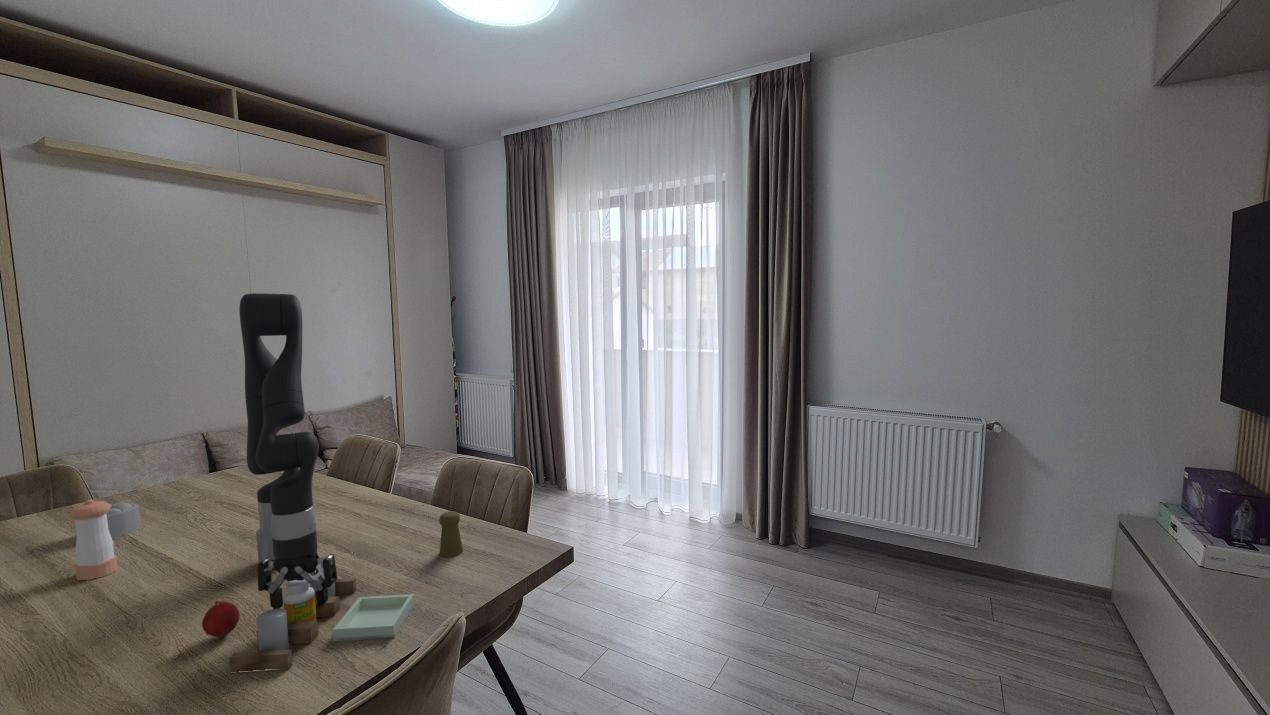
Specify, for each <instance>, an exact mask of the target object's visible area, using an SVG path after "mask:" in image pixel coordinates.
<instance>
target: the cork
mask: <svg viewBox="0 0 1270 715" xmlns="http://www.w3.org/2000/svg"><path fill="white" fill-rule="evenodd" d="M460 519H461V516H460V514H459V512H457V511H454V510H451V511H446V512H444V513H442V514H440V516H439V525H440V526H441V531H440V532H441V535H440V544H439V554H438V555H439V556H440V557H442V558H445V559H446V558H447V559H448V558H454V557H455V558H456V557H458V556H459V555H461V554H462V553H463V552H464V548H463V543H462V542H463V541H462V538H461V537H462V536H461V533H460V528H459V523H460V522H461V521H460ZM457 555H458V556H457Z"/></svg>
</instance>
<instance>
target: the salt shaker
mask: <svg viewBox="0 0 1270 715" xmlns="http://www.w3.org/2000/svg"><path fill="white" fill-rule="evenodd" d="M109 504H110V503H108V502H107V501H101V500H94V499H87V500H86V501H85V502H84V503H81V504H78V505H77V506H74V507H73V508H72V509H71V511H70V512H69V513H70V514H69V517H70V518H71V519H72V520H74V522H75V530H76V531H75V532H76V541H75V550H74V553H75V559H76V563H75V565H74V570H75V572H74V573H75V578H76V579H77V581H78V580H87V581H90V580H89V579H93V580H95V579H94V578H97V579H100V578H99V577H101V578H103V577H102V576H104V577H106V576H105V575H107V576H109V575H112V574H113V573H115V572H116V571H117V570H118V559H117V554H115V553H114V552H115V551H114V540H113V539H112V538H111V535H110V532H109V529H108V522H107V514H106V513H108V512H109V510H110V505H109ZM114 571H115V572H114ZM108 574H109V575H108Z"/></svg>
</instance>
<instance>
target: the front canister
mask: <svg viewBox="0 0 1270 715" xmlns="http://www.w3.org/2000/svg"><path fill="white" fill-rule="evenodd" d="M255 620H256V628H257V629H256V630H257V631H256V633H257V632H258V639H257V645H258V644H259V646H258V652H262V651H278V650H290V644H289V640H288V628H287V615H286V610H285V609H284V608H282V607H281V608H277V609H273V608H272V609H270V610H267V611H264V612H262V613H260V614H259V615H258V616H257V617H256V619H255Z"/></svg>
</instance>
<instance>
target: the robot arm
mask: <svg viewBox="0 0 1270 715" xmlns="http://www.w3.org/2000/svg"><path fill="white" fill-rule="evenodd" d="M302 310H303V309H302V305H301V301H300V300H299V297H298V296H296V295H294V294H289V293H263V292H262V293H255V292H253V293H252V292H251V293H246V294H244V295H243V296H242V297H241V299H240V301H239V320H240V329H241V337H242V345H243V353H244V354H243V355H244V394H245V395H244V396H245V397H244V398H245V407H246V416H247V417H246V418H247V434H246V436H247V437H246V463H247V464H246V465H247V468H248V470H249V472H250V473H252V474H253V475H258V476H259V475H269V474H273V473H279V472H283V473H282V474H281V475H280V476H278V477H277V478H276V479H275V480H273V481H271V482H269V483H267V484H265V485H262V486H261V487H260V488H258V490H257V493H256V496H257V498H256V499H257V510H258V519H259V520H258V521H259V522H258V523H259V528H258V529H257V530H256V531H255V534H256V535H255V536H256V537H255V538H256V549H257V558H258V559H257V561H258V564H257V590H258V591H259V592H263V591H265V592H267V593H268V594H269V602H270V603H269V604H270V607H271V608H272V609H277V608H282V607H284V597H283V587H281V586H282V585H283V584H284V583H285V581H287V582H290V581H293V580H299V581H301V580H304V579H305V580H306V581H307V582H308V583H309V584H312V585H313V586H314V587H315V588H316V589H317V591H316V600H317V608H321V607H323V605H324V604H325V603H326V602H327V601H328V587H331V586H332V584H333V583H334V582H336V581H337V579H338V573H337V566H336V558H335V554H333V553H330V554H328V555H326V556H320V555H319V554H318V534H317V521H316V514H315V510H314V502H313V501H314V500H313V477H314V471H315V467H316V462H317V459H318V456H319V451H320V443H319V442H320V441H319V439H318V437H317V436H316V435H315V434H314V433H312V432H310V431H300V432H299V431H298V432H293V433H285V434H279V431H281V430H282V429H285V428H288V427H291V426H294V425H297V424H299V423H301V422H302V421H303V420H304V418H305V417H306V416H305V415H306V414H305V413H306V412H305V402H304V395H303V387H302V386H303V384H302V364H303V363H302V361H303V312H302ZM267 336H268V337H269V336H273V337H274V336H275V337H276V336H285V343H284V347H283V350H282V351H281V353H280V355H279V357H278V358H276V357H275V356H274V355H273V354H272V353H271V352H270V351H269V349H268V348H267V346H265V344H264V342H263V339H262V338H261V337H267ZM317 565H321V568H323V571H324V575H323V572H322V571H321V570H320V569H319V568H318V566H317ZM273 569H274V570H276V571H277V573H278V574H277V575H276V577H275V578H274V580H273V575H272V574H273V572H272V570H273ZM312 572H313V573H314V576H312V575H311V574H312ZM272 580H273V581H272Z"/></svg>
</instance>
